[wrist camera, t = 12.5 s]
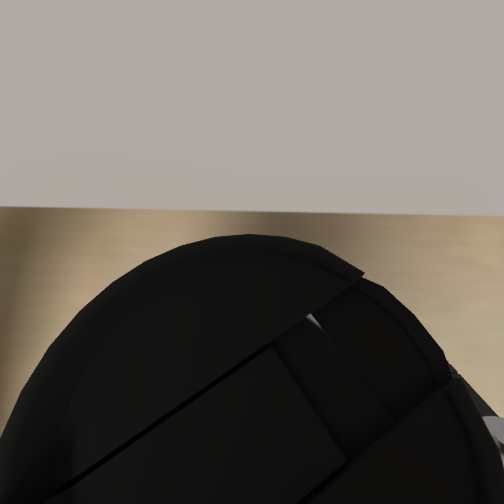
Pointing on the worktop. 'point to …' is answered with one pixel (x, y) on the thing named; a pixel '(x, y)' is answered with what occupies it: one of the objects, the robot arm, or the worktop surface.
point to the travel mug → (246, 391)
